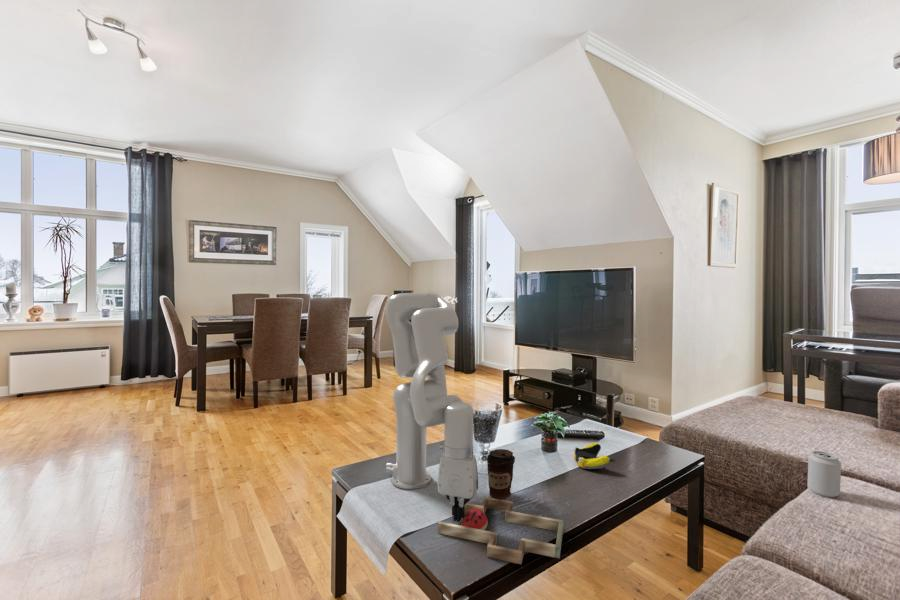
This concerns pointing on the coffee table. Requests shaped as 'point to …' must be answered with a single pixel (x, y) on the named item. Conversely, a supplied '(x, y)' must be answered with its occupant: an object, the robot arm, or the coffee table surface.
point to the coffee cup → (500, 473)
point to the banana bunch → (590, 457)
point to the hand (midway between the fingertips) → (458, 518)
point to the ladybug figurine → (475, 519)
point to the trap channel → (513, 517)
